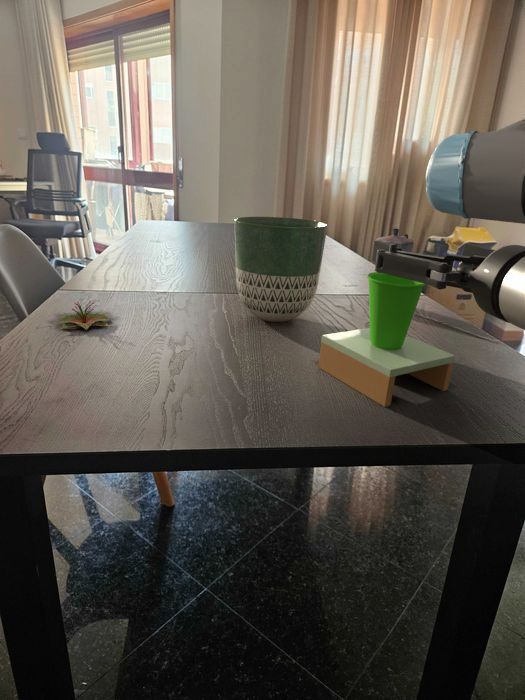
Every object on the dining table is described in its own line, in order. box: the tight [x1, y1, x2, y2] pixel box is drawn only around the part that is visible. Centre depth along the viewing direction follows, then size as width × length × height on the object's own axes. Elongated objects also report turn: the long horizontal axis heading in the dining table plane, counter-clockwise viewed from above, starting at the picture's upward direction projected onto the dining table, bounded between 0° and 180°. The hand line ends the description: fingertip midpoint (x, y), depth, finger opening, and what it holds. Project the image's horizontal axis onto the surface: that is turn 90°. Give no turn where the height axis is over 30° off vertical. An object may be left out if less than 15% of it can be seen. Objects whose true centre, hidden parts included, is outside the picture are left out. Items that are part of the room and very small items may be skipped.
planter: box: [234, 216, 328, 323], centre depth 103 cm, size 20×20×21 cm
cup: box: [366, 271, 427, 350], centre depth 74 cm, size 9×9×11 cm
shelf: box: [318, 327, 456, 408], centre depth 77 cm, size 16×14×6 cm
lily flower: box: [53, 300, 115, 331], centre depth 95 cm, size 12×12×5 cm
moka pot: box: [375, 228, 414, 253], centre depth 118 cm, size 10×15×20 cm, turn 145°
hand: (421, 251), depth 65 cm, fingers open, 13 cm apart
